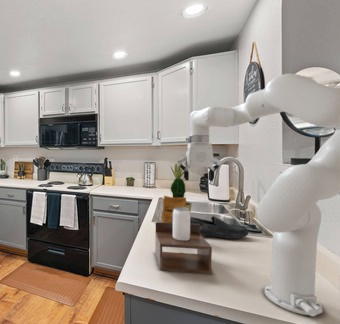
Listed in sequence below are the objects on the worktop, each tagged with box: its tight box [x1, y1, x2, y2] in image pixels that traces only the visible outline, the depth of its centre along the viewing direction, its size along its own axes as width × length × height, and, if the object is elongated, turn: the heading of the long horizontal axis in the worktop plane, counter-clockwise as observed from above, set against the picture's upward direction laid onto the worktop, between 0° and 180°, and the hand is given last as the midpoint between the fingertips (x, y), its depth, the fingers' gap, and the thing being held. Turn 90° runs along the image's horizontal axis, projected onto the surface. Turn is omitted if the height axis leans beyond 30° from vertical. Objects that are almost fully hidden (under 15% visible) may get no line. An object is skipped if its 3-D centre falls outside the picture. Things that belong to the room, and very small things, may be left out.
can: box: [173, 207, 191, 241], centre depth 89 cm, size 6×6×12 cm
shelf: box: [154, 221, 213, 275], centre depth 89 cm, size 14×18×14 cm
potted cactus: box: [170, 177, 193, 213], centre depth 131 cm, size 15×15×30 cm
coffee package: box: [161, 195, 187, 223], centre depth 113 cm, size 10×12×22 cm
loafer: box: [190, 215, 249, 240], centre depth 117 cm, size 10×29×10 cm, turn 81°
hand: (198, 180), depth 95 cm, fingers open, 9 cm apart
